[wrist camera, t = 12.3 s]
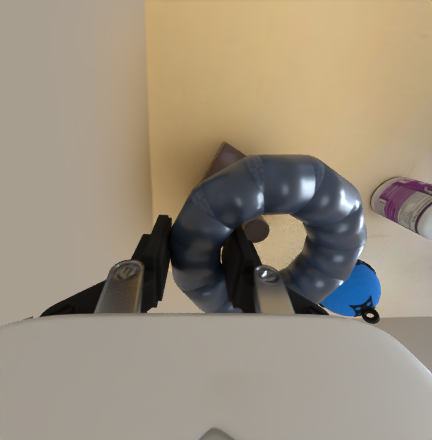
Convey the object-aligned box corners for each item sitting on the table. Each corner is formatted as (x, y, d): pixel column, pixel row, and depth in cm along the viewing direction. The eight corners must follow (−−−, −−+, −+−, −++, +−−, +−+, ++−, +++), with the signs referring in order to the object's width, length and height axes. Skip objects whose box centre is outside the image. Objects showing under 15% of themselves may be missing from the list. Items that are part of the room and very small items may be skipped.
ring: (146, 267, 13) (133, 304, 11) (234, 104, 9) (249, 97, 6) (270, 310, 17) (284, 345, 14) (375, 207, 12) (423, 231, 10)
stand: (189, 200, 23) (183, 249, 14) (224, 141, 20) (244, 155, 11) (241, 227, 25) (264, 284, 16) (278, 177, 23) (331, 213, 14)
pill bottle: (417, 181, 24) (535, 213, 16) (390, 216, 27) (480, 260, 18) (386, 171, 23) (494, 198, 15) (360, 208, 26) (441, 250, 17)
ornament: (342, 232, 27) (410, 284, 18) (355, 267, 31) (417, 324, 22) (289, 259, 29) (329, 319, 20) (307, 289, 33) (348, 351, 24)
